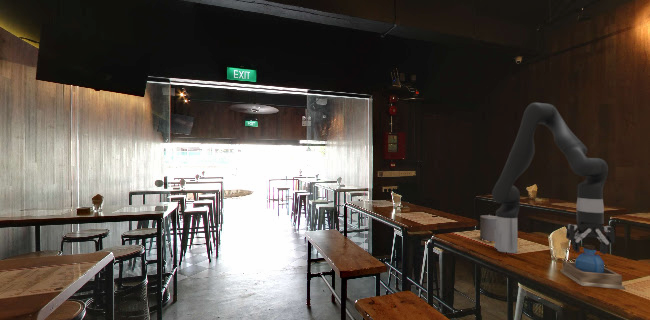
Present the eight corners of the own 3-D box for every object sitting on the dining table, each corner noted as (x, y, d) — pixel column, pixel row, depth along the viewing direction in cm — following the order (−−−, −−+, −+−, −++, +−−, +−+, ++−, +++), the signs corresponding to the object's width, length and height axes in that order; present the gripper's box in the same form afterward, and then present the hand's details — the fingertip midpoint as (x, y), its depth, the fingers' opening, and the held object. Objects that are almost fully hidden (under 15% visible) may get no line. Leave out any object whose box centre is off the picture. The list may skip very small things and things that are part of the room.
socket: (581, 285, 103) (581, 272, 103) (560, 271, 115) (560, 260, 115) (624, 289, 100) (624, 276, 100) (598, 275, 112) (598, 263, 112)
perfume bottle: (597, 281, 103) (596, 248, 104) (575, 275, 109) (575, 244, 109) (604, 278, 106) (603, 246, 106) (583, 272, 112) (582, 242, 112)
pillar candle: (476, 238, 167) (476, 213, 167) (491, 237, 168) (491, 212, 168) (487, 243, 157) (487, 216, 157) (503, 242, 158) (503, 216, 158)
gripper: (574, 210, 106) (574, 254, 106) (620, 212, 102) (620, 257, 102) (562, 207, 113) (562, 248, 113) (605, 209, 110) (605, 251, 110)
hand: (589, 252), depth 108 cm, fingers open, 8 cm apart
